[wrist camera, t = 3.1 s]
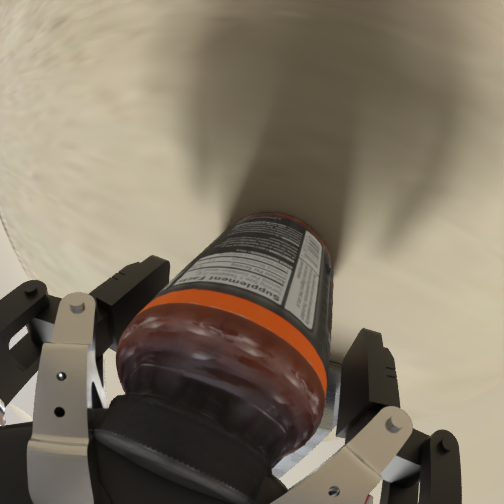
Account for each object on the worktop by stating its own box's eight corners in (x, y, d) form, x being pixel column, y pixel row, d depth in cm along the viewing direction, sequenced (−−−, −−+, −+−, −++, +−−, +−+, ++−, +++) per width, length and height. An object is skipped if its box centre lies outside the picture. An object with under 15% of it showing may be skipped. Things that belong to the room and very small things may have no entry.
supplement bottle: (309, 328, 15) (258, 534, 5) (210, 292, 16) (86, 458, 6) (352, 232, 12) (367, 503, 2) (231, 191, 13) (15, 345, 3)
